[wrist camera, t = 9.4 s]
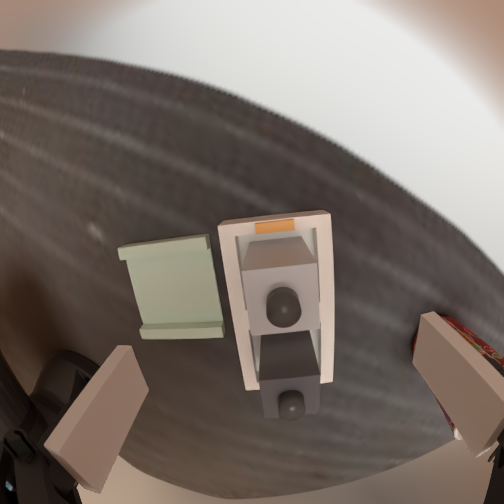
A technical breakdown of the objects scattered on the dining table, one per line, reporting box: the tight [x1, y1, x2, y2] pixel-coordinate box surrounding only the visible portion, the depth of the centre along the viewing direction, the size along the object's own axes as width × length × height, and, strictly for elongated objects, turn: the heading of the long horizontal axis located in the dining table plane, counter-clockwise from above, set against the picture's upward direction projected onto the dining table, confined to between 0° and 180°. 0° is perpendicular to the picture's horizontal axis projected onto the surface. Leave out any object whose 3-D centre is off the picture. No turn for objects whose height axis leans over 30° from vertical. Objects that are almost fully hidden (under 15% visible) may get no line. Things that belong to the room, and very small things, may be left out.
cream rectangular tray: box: [218, 210, 334, 421], centre depth 22 cm, size 9×17×10 cm, turn 7°
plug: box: [241, 236, 320, 336], centre depth 20 cm, size 4×4×10 cm
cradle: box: [117, 233, 226, 339], centre depth 26 cm, size 9×10×2 cm
